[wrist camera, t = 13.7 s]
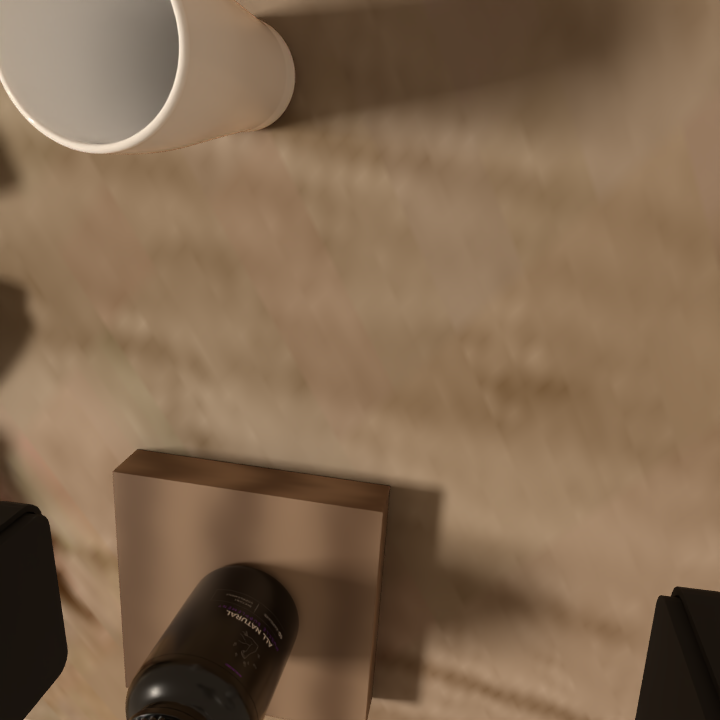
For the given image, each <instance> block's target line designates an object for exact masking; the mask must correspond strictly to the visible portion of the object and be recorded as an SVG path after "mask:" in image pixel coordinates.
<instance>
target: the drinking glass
mask: <svg viewBox="0 0 720 720" xmlns="http://www.w3.org/2000/svg"><path fill="white" fill-rule="evenodd" d="M0 80H1V82H2V84H3V87H4V88H5V90H6V92H7V94H8V96H9V97H10V99H11V100H12V102H13V103H14V105H15V106H16V107H17V109H18V110H19V111H20V112H21V114H22V115H23V116H24V117H25V118H26V119H27V120H28V121H29V122H30V123H31V124H32V125H33V126H34V127H35V128H36V129H37V130H39V131H40V132H41V133H43V134H44V135H45V136H47V137H49V138H50V139H52V140H53V141H55V142H57V143H59V144H61V145H63V146H66V147H68V148H71V149H74V150H78V151H81V152H87V153H96V154H149V153H159V152H166V151H171V150H176V149H181V148H185V147H189V146H192V145H196V144H199V143H203V142H206V141H210V140H213V139H217V138H220V137H224V136H228V135H232V134H236V133H240V132H252V131H257V130H260V129H263V128H265V127H267V126H269V125H271V124H272V123H274V122H275V121H276V120H277V119H278V118H279V117H280V116H281V115H282V114H283V113H284V111H285V110H286V108H287V107H288V105H289V103H290V101H291V98H292V95H293V91H294V86H295V67H294V62H293V58H292V55H291V52H290V50H289V48H288V46H287V44H286V42H285V41H284V40H283V38H282V37H281V36H280V34H279V33H278V32H277V31H276V30H275V29H274V28H272V27H271V26H270V25H269V24H267V23H265V22H264V21H262V20H260V19H258V18H256V17H255V16H254V15H252V14H251V13H250V12H249V11H247V10H246V9H245V8H244V7H243V6H241V5H240V4H239V3H238V2H236V1H235V0H0Z"/></svg>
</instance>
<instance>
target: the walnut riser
mask: <svg viewBox="0 0 720 720" xmlns="http://www.w3.org/2000/svg"><path fill="white" fill-rule="evenodd" d="M113 487H114V503H115V519H116V535H117V551H118V567H119V583H120V600H121V616H122V632H123V648H124V664H125V680H126V687H127V688H129V686H130V683H131V682H132V680H133V678H134V676H135V675H136V673H137V671H138V670H139V668H140V667H141V666H142V664H143V663H144V661H145V660H146V658H147V657H148V655H149V654H150V652H151V651H152V649H153V648H154V646H155V645H156V644H157V642H158V641H159V639H160V638H161V636H162V635H163V633H164V632H165V630H166V629H167V627H168V626H169V625H170V623H171V622H172V620H173V619H174V617H175V616H176V614H177V613H178V611H179V610H180V608H181V607H182V606H183V604H184V603H185V601H186V600H187V598H188V597H189V595H190V594H191V593H192V591H193V590H194V588H195V587H196V586H197V584H198V583H199V582H200V581H201V580H202V579H203V578H204V577H205V576H206V575H207V574H209V573H210V572H212V571H214V570H216V569H219V568H221V567H226V566H232V565H241V566H249V567H253V568H256V569H259V570H261V571H264V572H266V573H268V574H269V575H271V576H272V577H274V578H275V579H277V580H278V581H279V582H280V583H281V584H282V585H283V586H284V587H285V588H286V589H287V591H288V592H289V594H290V595H291V597H292V598H293V600H294V602H295V605H296V608H297V611H298V616H299V630H298V634H297V638H296V641H295V643H294V646H293V648H292V651H291V654H290V656H289V658H288V661H287V663H286V666H285V668H284V671H283V673H282V676H281V678H280V680H279V683H278V685H277V688H276V690H275V693H274V695H273V697H272V700H271V702H270V705H269V707H268V710H267V712H266V714H265V715H267V716H272V717H277V718H282V719H287V720H367V719H368V714H369V709H370V704H371V700H372V690H373V679H374V667H375V656H376V644H377V633H378V621H379V610H380V598H381V586H382V575H383V563H384V552H385V540H386V529H387V517H388V506H389V494H390V486H386V485H379V484H372V483H365V482H358V481H351V480H345V479H338V478H331V477H324V476H317V475H310V474H303V473H296V472H289V471H282V470H275V469H269V468H262V467H255V466H248V465H241V464H234V463H227V462H220V461H213V460H206V459H200V458H193V457H186V456H179V455H172V454H165V453H158V452H151V451H144V450H136V451H135V452H134V453H133V454H132V455H131V456H129V457H128V458H127V459H126V460H125V461H124V462H123V463H122V464H121V465H119V466H118V467H117V468H116V469H115V470H114V471H113Z"/></svg>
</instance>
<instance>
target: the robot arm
mask: <svg viewBox="0 0 720 720" xmlns="http://www.w3.org/2000/svg"><path fill="white" fill-rule="evenodd" d="M67 654H68V649H67V642H66V635H65V628H64V621H63V614H62V607H61V601H60V594H59V587H58V580H57V573H56V566H55V559H54V553H53V546H52V539H51V532H50V525H49V522H48V519H47V518H46V517H45V516H43V515H42V514H41V511H40V510H39V508H38V507H37V506H35V505H31V504H23V503H15V502H7V501H0V720H23V719H24V718H25V717H26V716H27V715H28V713H29V712H30V711H31V710H32V708H33V707H34V706H35V705H36V704H37V702H38V701H39V700H40V699H41V697H42V696H43V695H44V694H45V693H46V691H47V690H48V689H49V688H50V686H51V685H52V684H53V683H54V682H55V680H56V679H57V678H58V677H59V675H60V674H61V672H62V671H63V668H64V666H65V663H66V660H67ZM635 720H720V592H717V591H709V590H701V589H693V588H685V587H675V588H674V590H673V592H672V595H671V597H670V596H662V595H661V596H659V597H658V599H657V603H656V608H655V613H654V619H653V625H652V630H651V636H650V641H649V647H648V652H647V658H646V663H645V669H644V674H643V680H642V685H641V691H640V696H639V702H638V707H637V713H636V718H635Z"/></svg>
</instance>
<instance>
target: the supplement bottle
mask: <svg viewBox="0 0 720 720" xmlns="http://www.w3.org/2000/svg"><path fill="white" fill-rule="evenodd" d="M298 630H299V616H298V611H297V608H296V605H295V602H294V600H293V598H292V597H291V595H290V594H289V592H288V591H287V589H286V588H285V587H284V586H283V585H282V584H281V583H280V582H279V581H278V580H277V579H275V578H274V577H272V576H271V575H269V574H268V573H266V572H264V571H261V570H259V569H256V568H253V567H249V566H241V565H232V566H226V567H221V568H219V569H216V570H214V571H212V572H210V573H209V574H207V575H206V576H205V577H204V578H203V579H202V580H201V581H200V582H199V583H198V584H197V586H196V587H195V588H194V590H193V591H192V593H191V594H190V595H189V597H188V598H187V600H186V601H185V603H184V604H183V606H182V607H181V608H180V610H179V611H178V613H177V614H176V616H175V617H174V619H173V620H172V622H171V623H170V625H169V626H168V627H167V629H166V630H165V632H164V633H163V635H162V636H161V638H160V639H159V641H158V642H157V644H156V645H155V646H154V648H153V649H152V651H151V652H150V654H149V655H148V657H147V658H146V660H145V661H144V663H143V664H142V666H141V667H140V668H139V670H138V671H137V673H136V675H135V676H134V678H133V680H132V682H131V683H130V686H129V688H128V692H127V696H126V707H125V710H126V719H127V720H263V719H264V717H265V714H266V712H267V710H268V707H269V705H270V702H271V700H272V697H273V695H274V693H275V690H276V688H277V685H278V683H279V680H280V678H281V676H282V673H283V671H284V668H285V666H286V663H287V661H288V658H289V656H290V654H291V651H292V648H293V646H294V643H295V641H296V638H297V634H298Z"/></svg>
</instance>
